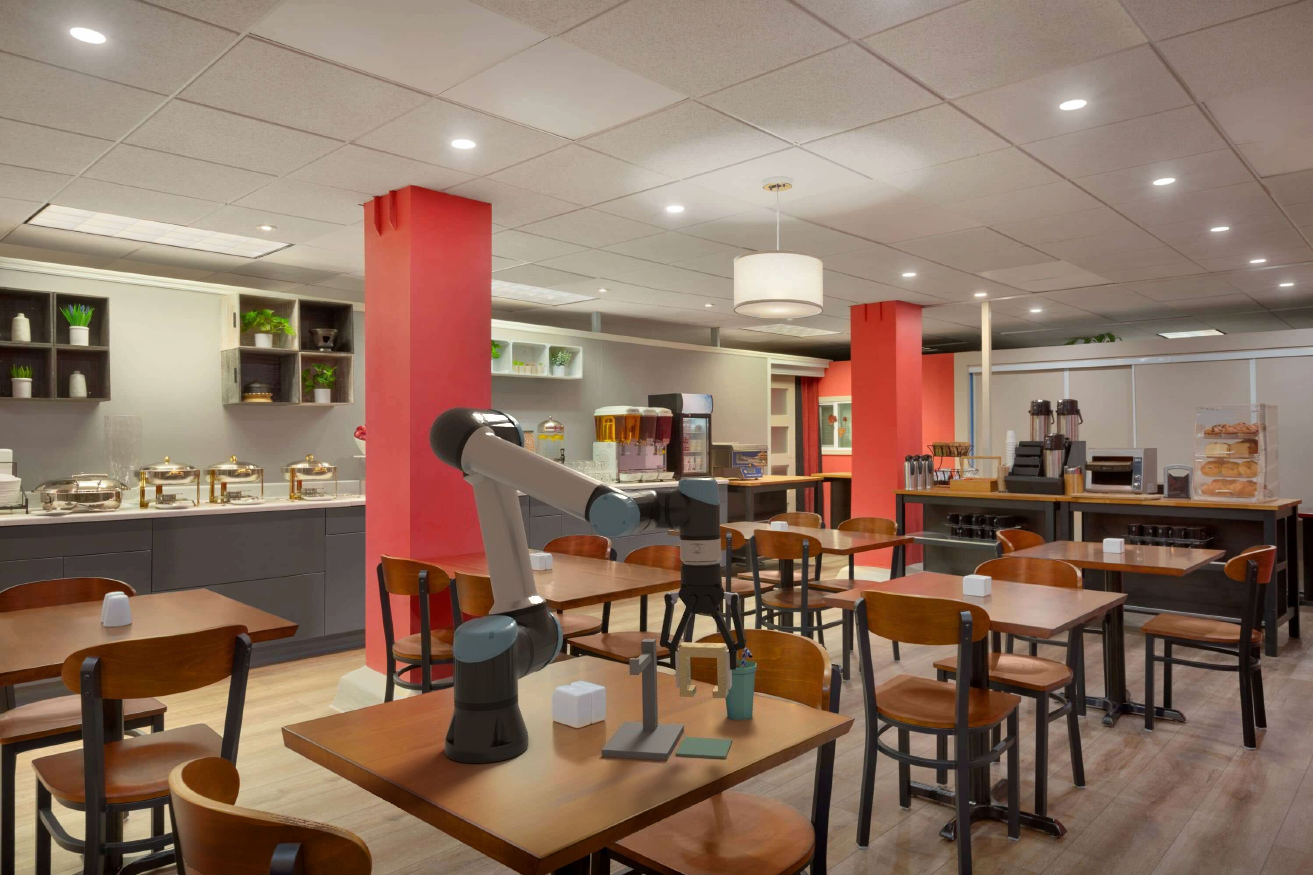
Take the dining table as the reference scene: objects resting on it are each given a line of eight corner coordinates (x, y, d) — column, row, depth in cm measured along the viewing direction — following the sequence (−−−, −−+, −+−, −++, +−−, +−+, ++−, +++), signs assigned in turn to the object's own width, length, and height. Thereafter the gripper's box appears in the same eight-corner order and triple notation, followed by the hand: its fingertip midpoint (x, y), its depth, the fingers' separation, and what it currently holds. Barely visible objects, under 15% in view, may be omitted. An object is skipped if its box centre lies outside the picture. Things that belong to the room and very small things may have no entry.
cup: (771, 726, 162) (769, 649, 163) (733, 729, 161) (731, 652, 161) (748, 706, 176) (747, 635, 176) (713, 709, 174) (712, 637, 175)
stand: (601, 756, 148) (599, 654, 148) (624, 727, 163) (622, 636, 164) (667, 760, 145) (665, 657, 146) (684, 730, 161) (682, 637, 161)
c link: (679, 696, 150) (678, 646, 150) (683, 691, 154) (682, 642, 154) (725, 698, 148) (724, 647, 149) (728, 692, 152) (727, 643, 152)
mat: (675, 755, 147) (675, 753, 147) (684, 738, 156) (684, 736, 156) (725, 758, 146) (725, 756, 146) (732, 741, 154) (732, 739, 154)
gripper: (639, 564, 150) (642, 689, 150) (756, 564, 146) (760, 694, 145) (649, 559, 158) (652, 679, 157) (760, 559, 153) (764, 682, 152)
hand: (704, 686), depth 151 cm, fingers closed on c link, 8 cm apart
